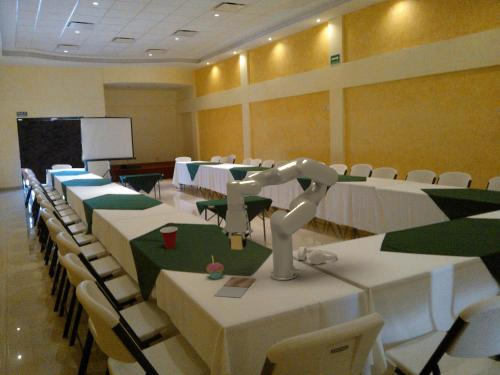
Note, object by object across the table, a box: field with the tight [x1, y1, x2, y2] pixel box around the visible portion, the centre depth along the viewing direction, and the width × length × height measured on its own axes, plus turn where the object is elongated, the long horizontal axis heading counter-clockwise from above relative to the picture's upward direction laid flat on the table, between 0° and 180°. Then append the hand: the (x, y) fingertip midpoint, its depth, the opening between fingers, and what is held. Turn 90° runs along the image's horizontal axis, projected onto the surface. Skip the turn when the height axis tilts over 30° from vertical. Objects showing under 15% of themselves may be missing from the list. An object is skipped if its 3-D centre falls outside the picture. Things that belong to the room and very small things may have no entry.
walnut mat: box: [223, 276, 257, 289], centre depth 194 cm, size 12×11×1 cm
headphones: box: [297, 246, 338, 266], centre depth 223 cm, size 7×18×20 cm
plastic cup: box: [159, 226, 179, 250], centre depth 258 cm, size 11×11×12 cm
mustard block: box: [230, 233, 244, 251], centre depth 191 cm, size 5×5×6 cm
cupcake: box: [205, 255, 225, 280], centre depth 202 cm, size 9×8×12 cm
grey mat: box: [213, 285, 249, 299], centre depth 183 cm, size 12×11×1 cm
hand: (238, 246), depth 192 cm, fingers closed on mustard block, 5 cm apart
